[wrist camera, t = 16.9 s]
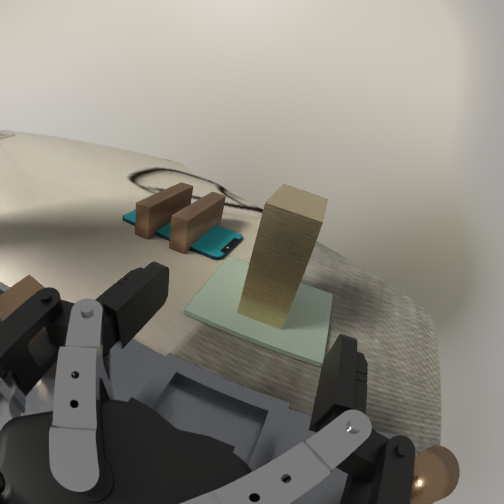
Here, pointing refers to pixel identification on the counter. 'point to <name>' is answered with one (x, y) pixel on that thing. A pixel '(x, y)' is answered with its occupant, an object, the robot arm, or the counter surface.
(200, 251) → the smartphone
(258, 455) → the grey slotted base
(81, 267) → the counter surface
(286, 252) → the brushed brass block
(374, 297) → the counter surface
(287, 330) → the pad
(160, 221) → the phone stand
